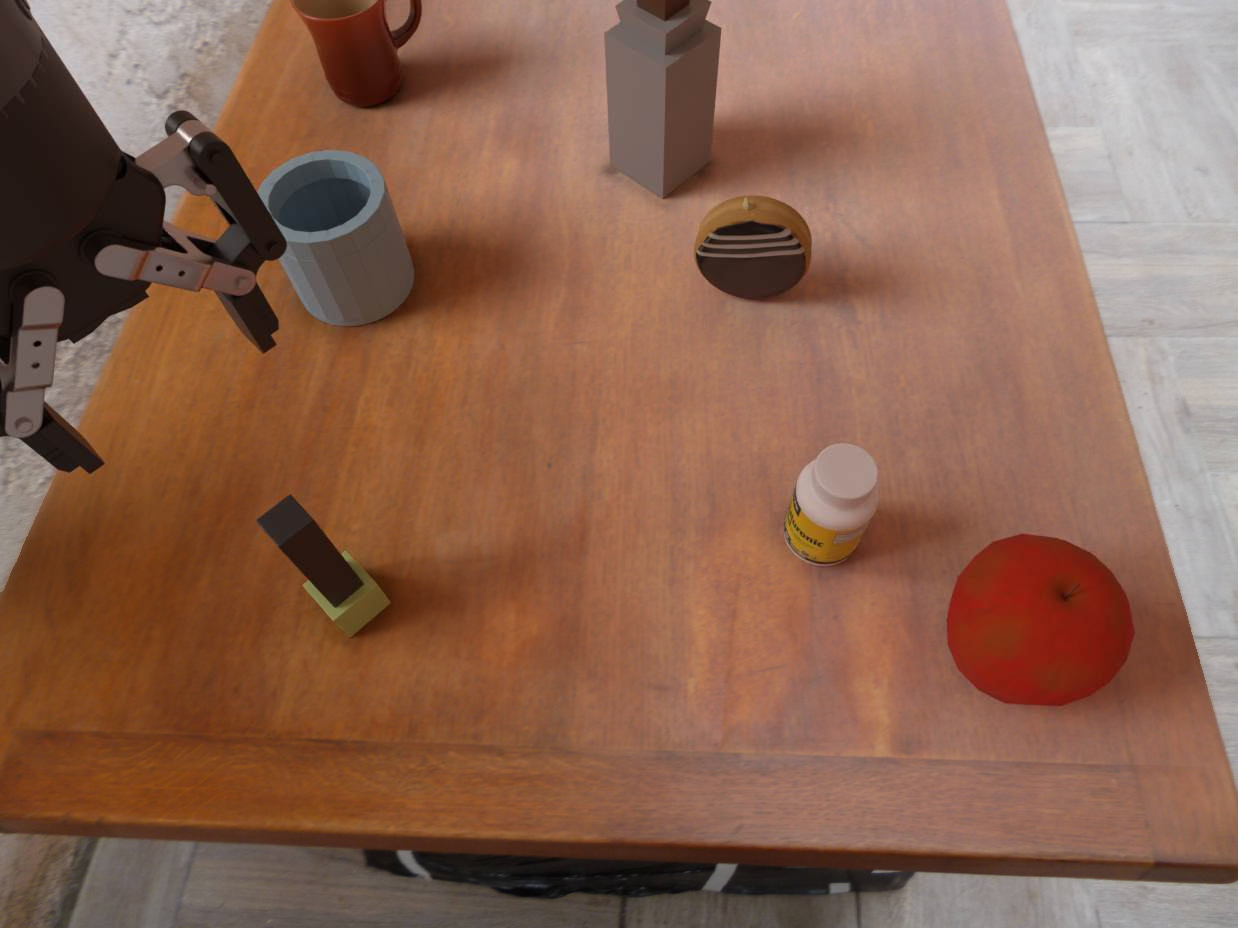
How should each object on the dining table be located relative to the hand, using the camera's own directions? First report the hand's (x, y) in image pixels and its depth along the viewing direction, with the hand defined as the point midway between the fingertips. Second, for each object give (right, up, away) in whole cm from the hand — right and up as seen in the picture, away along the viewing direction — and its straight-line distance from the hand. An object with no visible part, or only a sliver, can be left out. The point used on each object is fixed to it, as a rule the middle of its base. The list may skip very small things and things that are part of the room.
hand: (176, 396), depth 37 cm
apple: (+45, -15, +20) cm, 52 cm away
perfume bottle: (+23, +26, +44) cm, 56 cm away
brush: (+1, -13, +23) cm, 26 cm away
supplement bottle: (+34, -8, +25) cm, 43 cm away
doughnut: (+30, +12, +36) cm, 49 cm away
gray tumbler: (-4, +13, +37) cm, 40 cm away
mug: (-5, +36, +51) cm, 63 cm away
